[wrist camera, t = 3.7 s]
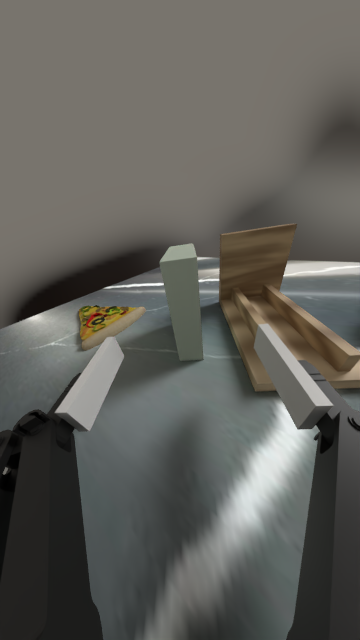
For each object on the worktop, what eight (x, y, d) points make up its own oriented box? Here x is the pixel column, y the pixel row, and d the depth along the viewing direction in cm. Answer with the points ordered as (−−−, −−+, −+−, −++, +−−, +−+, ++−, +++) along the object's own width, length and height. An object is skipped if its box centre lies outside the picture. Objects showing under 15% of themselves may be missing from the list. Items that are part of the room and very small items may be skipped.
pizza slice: (90, 356, 26) (82, 344, 24) (51, 327, 37) (44, 317, 35) (151, 314, 36) (148, 303, 34) (106, 300, 47) (102, 292, 45)
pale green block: (203, 359, 21) (196, 256, 13) (179, 360, 21) (159, 262, 14) (198, 320, 29) (192, 243, 21) (181, 322, 30) (169, 246, 22)
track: (376, 387, 15) (552, 228, 7) (255, 391, 16) (292, 260, 8) (272, 296, 33) (289, 223, 25) (219, 301, 34) (220, 234, 27)
